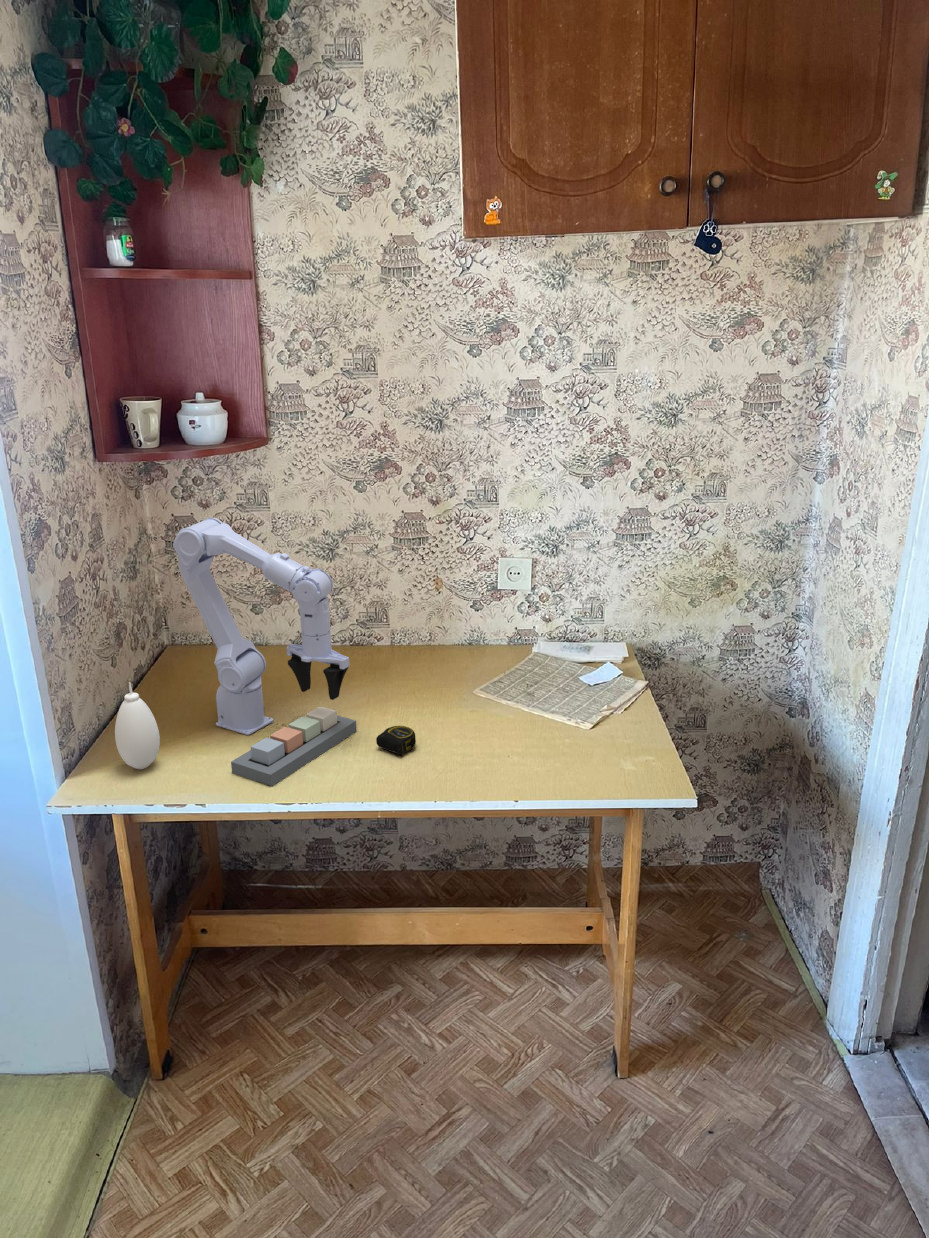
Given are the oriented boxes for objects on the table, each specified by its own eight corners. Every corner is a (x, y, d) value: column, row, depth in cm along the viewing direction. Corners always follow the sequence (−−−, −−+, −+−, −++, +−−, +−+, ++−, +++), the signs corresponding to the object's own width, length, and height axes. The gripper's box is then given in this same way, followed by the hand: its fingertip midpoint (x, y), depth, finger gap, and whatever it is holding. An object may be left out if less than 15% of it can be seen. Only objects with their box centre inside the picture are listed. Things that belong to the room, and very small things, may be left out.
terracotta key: (271, 748, 185) (269, 735, 184) (286, 739, 188) (285, 726, 187) (288, 753, 182) (287, 740, 181) (303, 744, 186) (302, 731, 185)
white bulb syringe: (147, 753, 188) (136, 670, 182) (170, 765, 183) (159, 680, 177) (112, 768, 182) (99, 683, 176) (135, 781, 178) (122, 694, 172)
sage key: (289, 737, 189) (288, 724, 188) (303, 728, 192) (302, 716, 191) (306, 742, 187) (305, 729, 186) (320, 733, 190) (319, 720, 189)
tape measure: (374, 750, 189) (374, 733, 188) (398, 737, 194) (397, 721, 193) (399, 760, 185) (398, 743, 183) (423, 747, 190) (422, 730, 188)
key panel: (232, 773, 180) (230, 761, 179) (319, 720, 201) (318, 710, 200) (271, 786, 175) (270, 774, 174) (356, 731, 196) (356, 720, 195)
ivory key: (306, 726, 193) (305, 714, 192) (320, 718, 197) (319, 706, 196) (323, 731, 191) (322, 718, 190) (337, 723, 195) (336, 710, 194)
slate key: (251, 759, 180) (250, 746, 179) (267, 750, 184) (266, 737, 183) (269, 765, 178) (268, 752, 177) (284, 755, 182) (283, 742, 181)
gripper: (274, 631, 187) (279, 693, 192) (332, 644, 180) (335, 709, 185) (297, 620, 193) (302, 681, 197) (354, 633, 186) (357, 695, 190)
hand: (320, 693), depth 191 cm, fingers open, 7 cm apart
